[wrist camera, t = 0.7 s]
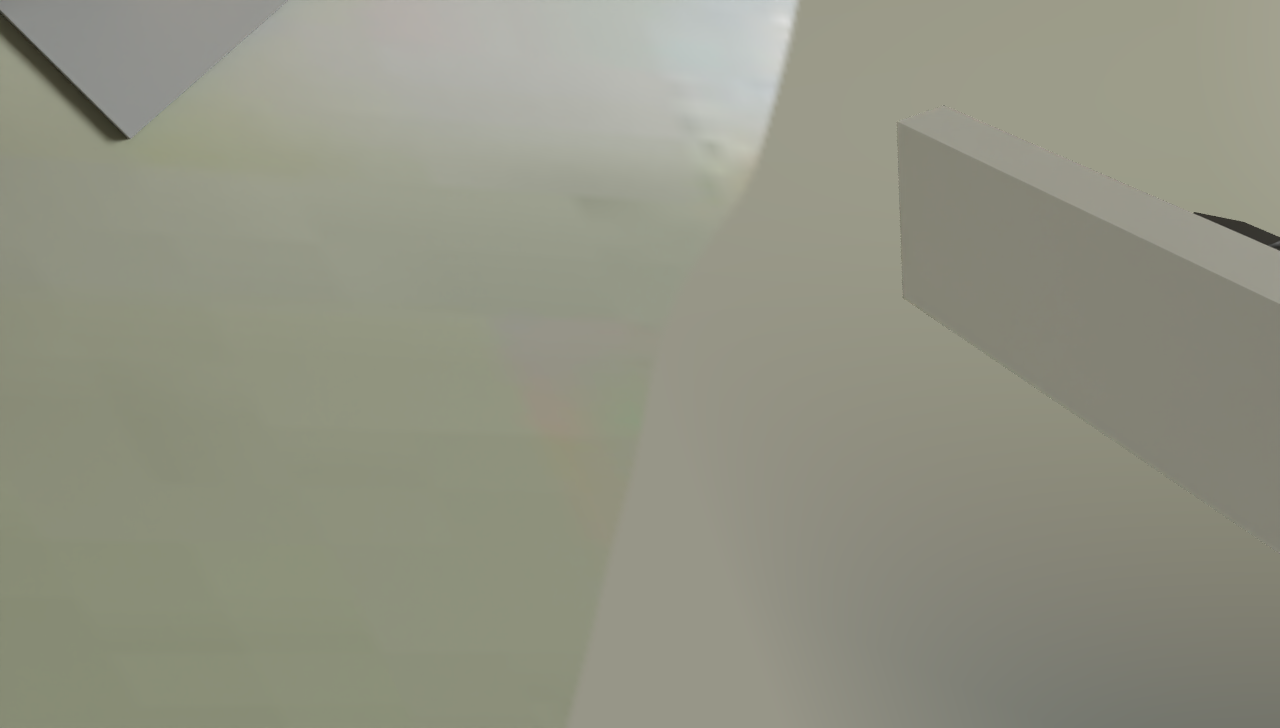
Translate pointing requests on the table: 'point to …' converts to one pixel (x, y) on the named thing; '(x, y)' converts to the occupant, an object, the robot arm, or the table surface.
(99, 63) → the grey square base plate
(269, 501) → the table surface
